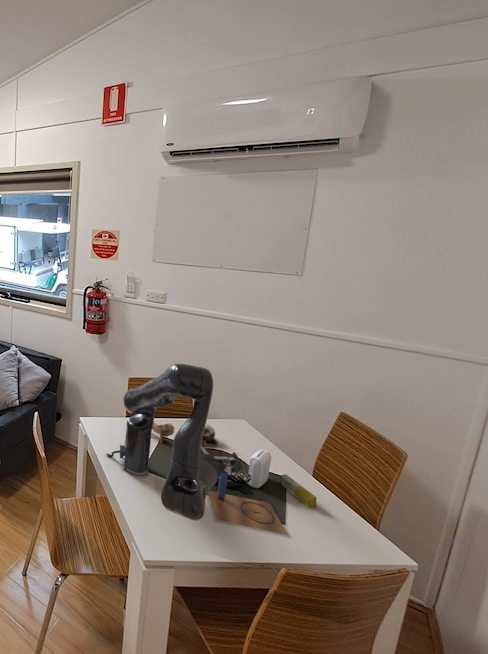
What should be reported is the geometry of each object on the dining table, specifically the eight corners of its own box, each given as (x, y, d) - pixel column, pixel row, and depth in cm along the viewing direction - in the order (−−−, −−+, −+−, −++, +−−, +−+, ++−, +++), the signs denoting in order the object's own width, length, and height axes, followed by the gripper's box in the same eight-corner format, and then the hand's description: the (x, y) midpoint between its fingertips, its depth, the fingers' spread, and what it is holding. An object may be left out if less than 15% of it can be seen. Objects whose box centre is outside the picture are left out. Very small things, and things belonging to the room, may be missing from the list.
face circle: (246, 519, 124) (246, 519, 124) (236, 499, 133) (236, 499, 133) (279, 527, 121) (279, 526, 121) (267, 505, 130) (267, 505, 130)
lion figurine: (174, 442, 166) (176, 423, 165) (170, 447, 163) (172, 428, 161) (142, 428, 177) (143, 411, 175) (137, 432, 173) (138, 415, 172)
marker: (217, 499, 133) (221, 469, 130) (215, 494, 135) (219, 464, 133) (225, 501, 132) (230, 471, 130) (223, 496, 134) (227, 466, 132)
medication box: (279, 484, 141) (279, 474, 140) (286, 483, 141) (286, 473, 140) (309, 508, 129) (310, 498, 128) (316, 507, 129) (317, 497, 129)
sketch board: (216, 520, 124) (216, 519, 124) (204, 487, 139) (204, 486, 139) (287, 536, 118) (288, 534, 118) (267, 499, 133) (267, 498, 133)
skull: (192, 444, 163) (188, 420, 168) (185, 448, 171) (182, 424, 177) (222, 447, 160) (217, 422, 166) (214, 450, 169) (209, 427, 174)
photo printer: (256, 473, 147) (261, 445, 144) (269, 479, 143) (274, 450, 141) (244, 483, 141) (249, 454, 139) (257, 490, 138) (262, 460, 135)
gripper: (232, 473, 105) (246, 448, 116) (179, 449, 115) (196, 429, 126) (228, 496, 106) (243, 470, 117) (176, 471, 116) (194, 449, 127)
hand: (219, 448), depth 122 cm, fingers open, 8 cm apart
